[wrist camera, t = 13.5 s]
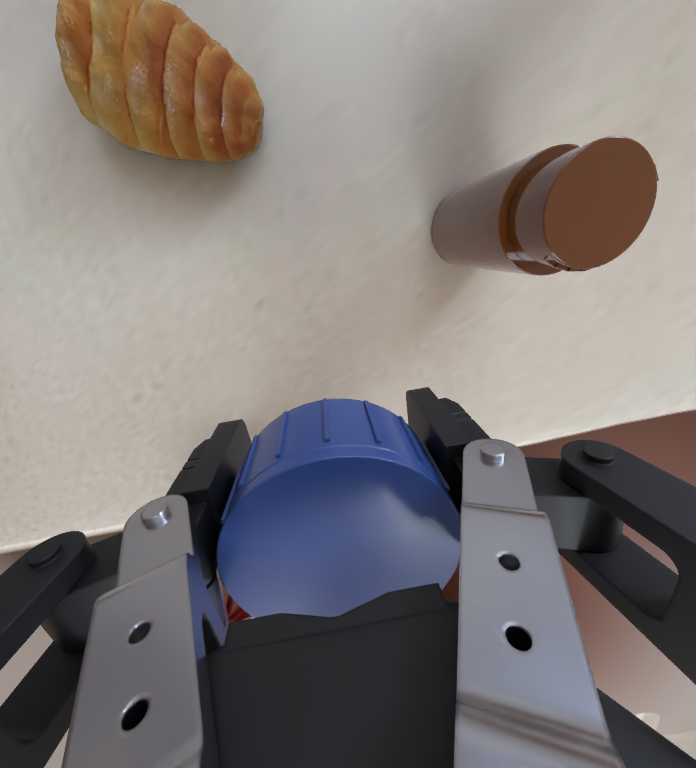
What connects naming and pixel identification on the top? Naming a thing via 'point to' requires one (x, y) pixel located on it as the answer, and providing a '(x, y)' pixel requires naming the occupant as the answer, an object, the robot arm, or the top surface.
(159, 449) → the top surface
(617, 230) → the jar
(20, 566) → the robot arm
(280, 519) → the lid
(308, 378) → the top surface
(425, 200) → the top surface
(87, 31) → the pastry
